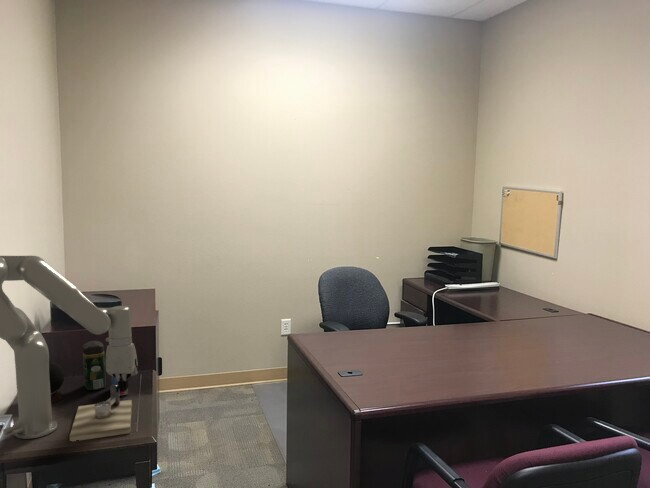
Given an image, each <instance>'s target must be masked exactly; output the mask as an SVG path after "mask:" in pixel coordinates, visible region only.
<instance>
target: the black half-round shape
mask: <svg viewBox="0 0 650 488" xmlns="http://www.w3.org/2000/svg"><path fill="white" fill-rule="evenodd" d="M49 378H50V393H51V405H52V404H54V403H57V402H59V401H61V400H62V399H63V393H61V392H60V391H59V389H60V388H61V387H62V385H63V384H64V380H65V372H64V370H63V368H62V366H61V365H60V364H58V363H57V362H54V361H52V360H49Z"/></svg>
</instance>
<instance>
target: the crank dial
mask: <svg viewBox="0 0 650 488" xmlns="http://www.w3.org/2000/svg"><path fill="white" fill-rule="evenodd" d="M109 391H110V397H109V398H108V399H107V400H106V401H99V402H97V403H94V404H95V418H98V419H102V418H107V417H109V416H110V415H111V406H117V405H119V404H120V401H121V398H120V395H119V388H118V384H113V385H112V384H110V385H109Z"/></svg>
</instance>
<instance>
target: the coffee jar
mask: <svg viewBox="0 0 650 488" xmlns="http://www.w3.org/2000/svg"><path fill="white" fill-rule="evenodd" d="M104 348H105V346H104V343H103V342H101V341H99V340H89V341H87V342H86V343H85V344H83V346H82V362H83V374H84V375H83V376H84V377H83V378H84V379H83V381H84V388H85V389H86V390H87V391H98V390H100V389H104V388H106V385H107V381H106V379H107V376H106V359H105V349H104Z"/></svg>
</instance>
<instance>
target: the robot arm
mask: <svg viewBox="0 0 650 488" xmlns="http://www.w3.org/2000/svg"><path fill="white" fill-rule="evenodd" d="M5 281H6V282H7V281H10V282H11V281H13V282H14V281H24V282H25V283H26V284H28V285H29V286H30V287H31V288H33V289H35V290H36V291H37V292H38V293H39V294H41V295H42V296H44V297H45V298H46V299H47V300H48V301H50V302H51V303H52V304H53V305H55V306H56V307H57V308H58V309H59V310H61V311H62V312H64V313H65V314H67V315H68V316H69V317H70V318H72V319H73V320H74V321H75V322H77V323H78V324H79V325H80V326H82V327H83V328H84V329H86V330H87V331H88V332H89V333H91V334H93V335H96V336H98V335H103V334H105V333H107V332H108V337H106V338H105V342H108V345H107V346H106V352H105V373H107V375H109V376H111V375H112V376H114V377H115V378H116V380H117V381H118V388H119V392H125V391H126V390H127V388H129V378H130V377H134V376H136V375H138V365H139V364H138V356H137V350H136V347H135V343H133V336H132V319H131V316H132V314H131V308H130V307H129V306H127V305H126V306H125V305H117V306H113V307H98V306H96V305H95V304H94V303H93V302H91V300H89V299H88V298H87V297H86V296H85V295H84V294H83V293H82V292H81V291H80V290H79V288H78V287H77V286H75V285H74V283H72V282H71V281H70V280H68V279H67V278H66V277H65V276H64V275H62V274H61V273H59V272H58V271H57V270H56V269H55V268H53V267H52V266H51V265H50V264H49V263H47V262H46V261H45V259H44V258H42V257H40V256H38V255H0V339H2V340H4V341H5V342H6V343H7V344H8V346H10V348H11V349H12V350H13V354H14V364H15V381H16V392H17V394H16V396H17V409H18V420H16V421H15V423H14V424H13V425H12V426H9V427H6V428H3V430H2V431H3V432H2V433H3V435H4V436H7V435H10V434H11V435H13V436H14V437H16V438H18V439H22V440H26V439H27V440H29V439H31V440H32V439H37V438H41V437H44V436H47V435H50V434H51V433H53V432H55V431H56V429H58V427H59V426H58V421H57V420H55V419H53V413H52V411H53V410H52V404H51V393H50V378H49V361H50V352H49V351H50V350H49V347H48V344H47V342H46V339H45V338H44V336H43V335H42V333H41V332H40V331H39V330H38V328H37V327H36V325H35V324H34V323H33V322H32V320H31V319H30V318H29V316H28V315H27V314H26V312H24V311H23V309H21V308H19V307H16V306H15V305H14V303H13V302H12V301H11V299H10V298H9V297H8V296H7V294H6V293H5V292H4V290H3V284H4V283H5Z"/></svg>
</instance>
